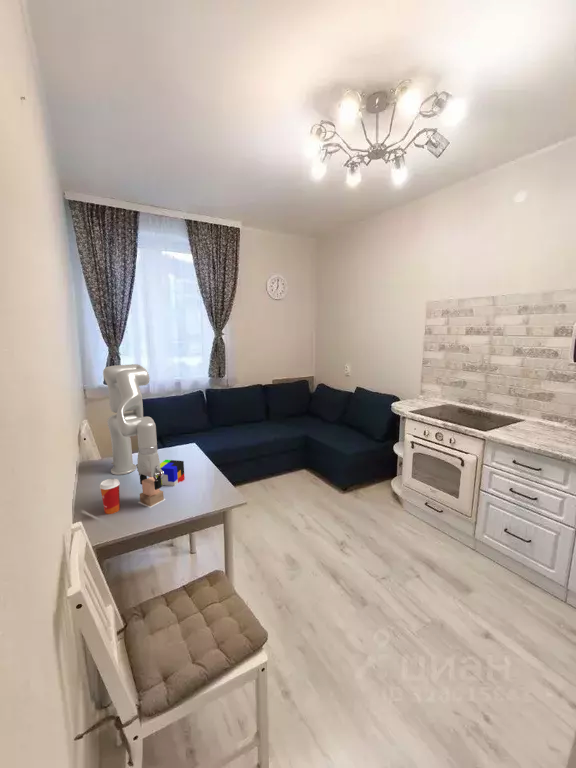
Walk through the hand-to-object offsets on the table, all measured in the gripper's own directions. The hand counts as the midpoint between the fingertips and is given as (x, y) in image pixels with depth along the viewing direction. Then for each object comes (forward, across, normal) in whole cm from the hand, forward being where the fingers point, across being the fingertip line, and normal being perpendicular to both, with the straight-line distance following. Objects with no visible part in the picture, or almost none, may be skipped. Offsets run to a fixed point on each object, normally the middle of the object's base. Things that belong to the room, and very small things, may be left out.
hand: (150, 485), depth 155 cm
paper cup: (+8, -8, -14) cm, 18 cm away
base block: (+7, 0, 0) cm, 7 cm away
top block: (+3, 0, 0) cm, 3 cm away
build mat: (+8, -2, +1) cm, 9 cm away
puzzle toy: (+9, -9, +18) cm, 22 cm away
